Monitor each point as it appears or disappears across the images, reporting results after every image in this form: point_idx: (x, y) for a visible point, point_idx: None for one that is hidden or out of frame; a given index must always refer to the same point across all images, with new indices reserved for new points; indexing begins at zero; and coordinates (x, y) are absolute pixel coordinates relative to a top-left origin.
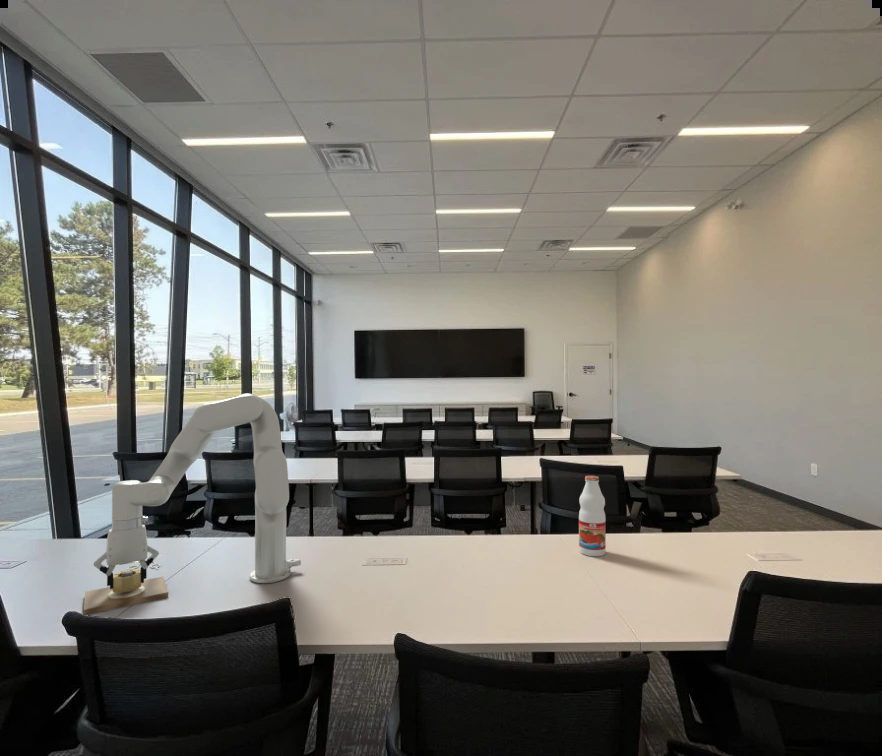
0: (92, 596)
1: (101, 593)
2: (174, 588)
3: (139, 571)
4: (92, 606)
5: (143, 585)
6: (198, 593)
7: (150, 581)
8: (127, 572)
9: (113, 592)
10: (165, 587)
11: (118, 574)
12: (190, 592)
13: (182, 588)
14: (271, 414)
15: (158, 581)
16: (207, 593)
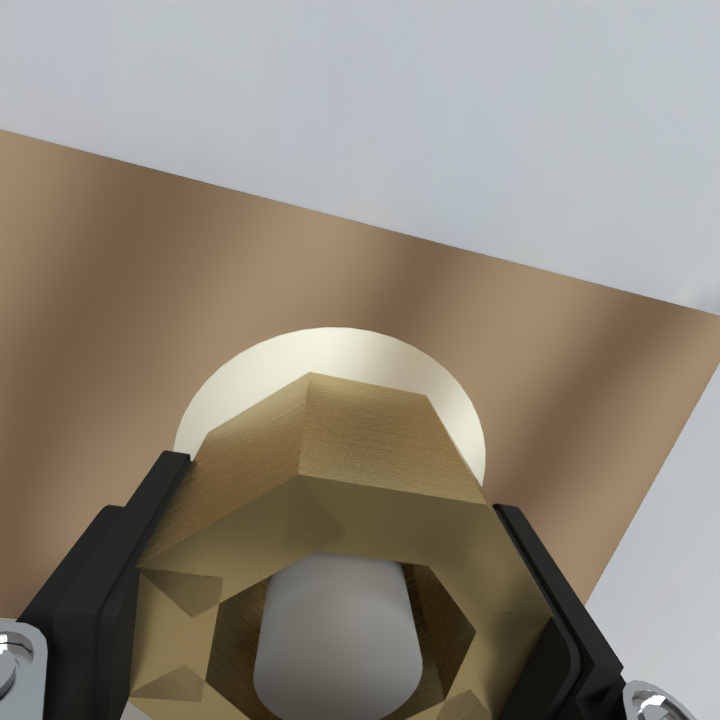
0: (26, 361)
1: (119, 342)
2: (639, 524)
3: (508, 666)
4: (33, 594)
5: (498, 429)
6: (662, 679)
7: (590, 370)
8: (352, 665)
9: (227, 418)
10: (584, 588)
11: (228, 596)
12: (649, 643)
13: (667, 559)
14: None
15: (631, 426)
16: (687, 704)
